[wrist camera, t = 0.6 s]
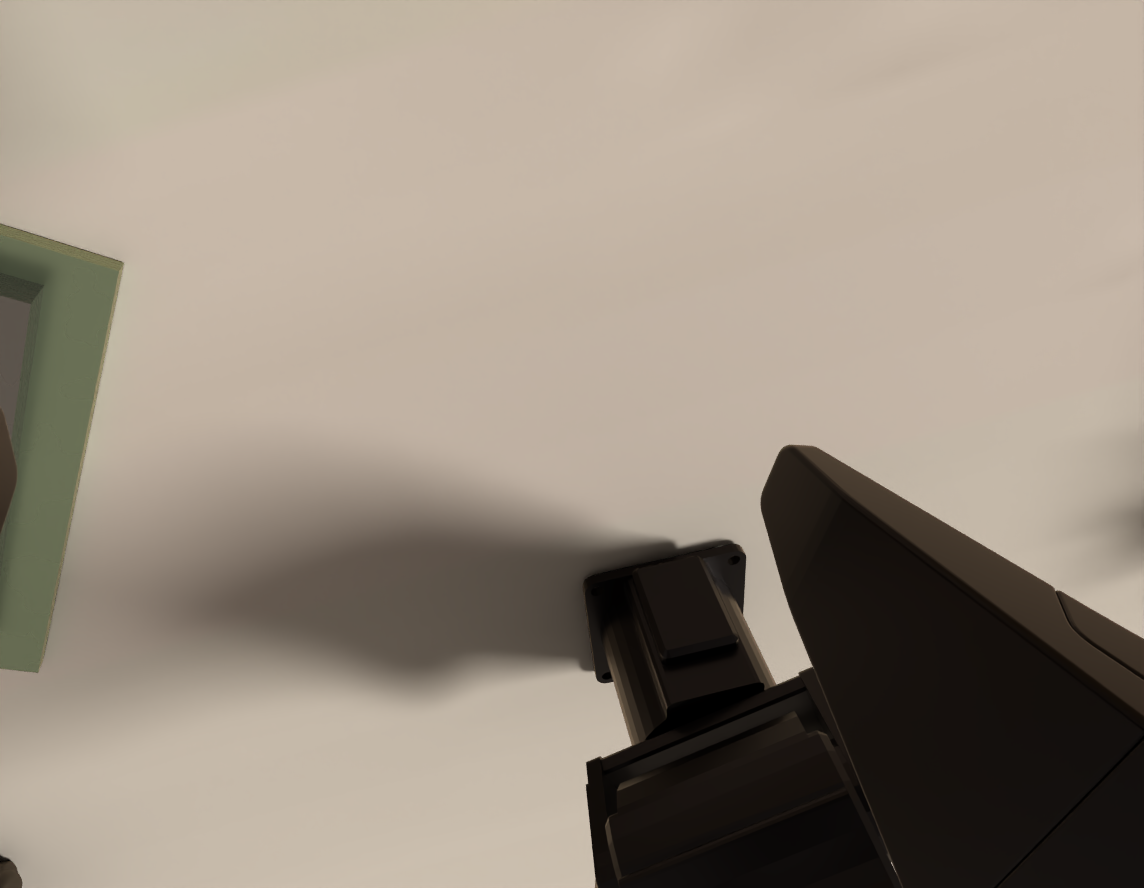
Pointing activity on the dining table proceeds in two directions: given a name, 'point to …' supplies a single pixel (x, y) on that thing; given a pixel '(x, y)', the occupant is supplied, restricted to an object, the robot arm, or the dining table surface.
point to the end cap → (9, 875)
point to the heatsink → (45, 418)
